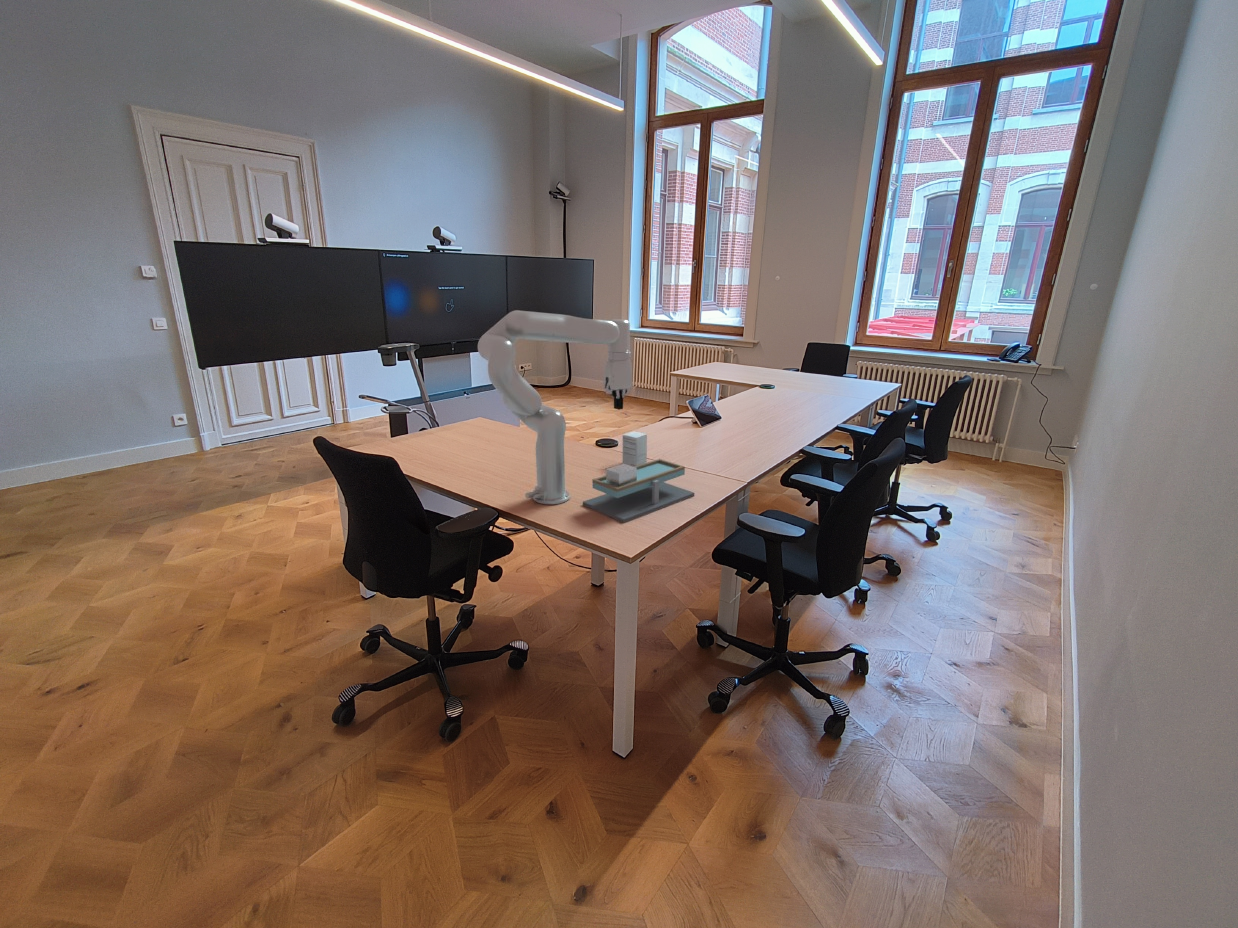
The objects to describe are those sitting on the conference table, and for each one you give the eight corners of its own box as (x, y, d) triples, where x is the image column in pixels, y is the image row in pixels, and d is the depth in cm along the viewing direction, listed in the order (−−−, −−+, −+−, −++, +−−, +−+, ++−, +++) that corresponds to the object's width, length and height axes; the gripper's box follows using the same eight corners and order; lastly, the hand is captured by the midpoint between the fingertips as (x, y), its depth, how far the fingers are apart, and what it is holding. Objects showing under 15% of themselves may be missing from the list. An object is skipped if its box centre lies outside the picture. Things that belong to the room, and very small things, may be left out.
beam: (617, 497, 175) (617, 489, 174) (592, 488, 183) (592, 479, 182) (684, 474, 196) (684, 466, 195) (659, 466, 204) (659, 458, 203)
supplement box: (632, 460, 235) (633, 430, 231) (647, 463, 231) (647, 433, 227) (621, 464, 230) (622, 434, 226) (636, 467, 225) (636, 437, 221)
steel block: (619, 488, 177) (619, 473, 176) (606, 483, 181) (606, 469, 180) (636, 482, 183) (636, 467, 181) (623, 477, 187) (623, 463, 185)
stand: (623, 522, 174) (624, 495, 171) (582, 504, 188) (582, 479, 185) (694, 495, 196) (695, 471, 193) (652, 481, 210) (653, 458, 207)
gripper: (628, 353, 200) (627, 404, 206) (594, 357, 191) (595, 409, 197) (642, 356, 194) (641, 407, 200) (608, 359, 185) (608, 413, 191)
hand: (618, 408), depth 198 cm, fingers closed
